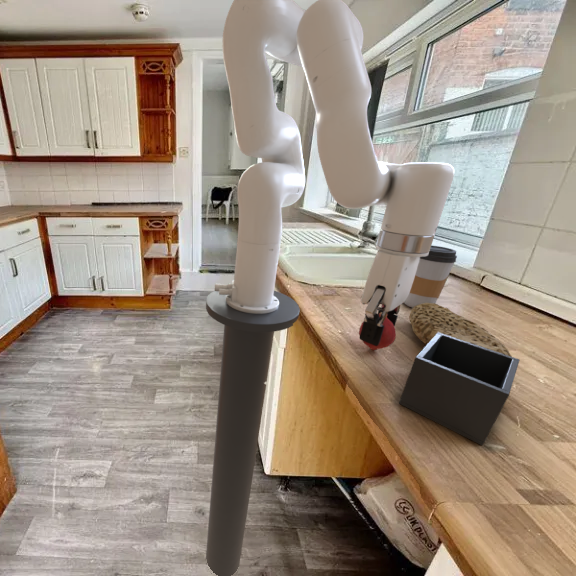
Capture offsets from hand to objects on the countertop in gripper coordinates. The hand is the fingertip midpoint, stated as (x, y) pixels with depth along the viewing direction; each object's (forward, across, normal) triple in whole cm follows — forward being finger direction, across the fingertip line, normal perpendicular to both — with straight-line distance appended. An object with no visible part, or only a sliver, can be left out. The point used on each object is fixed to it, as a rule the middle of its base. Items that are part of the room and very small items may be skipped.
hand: (376, 335), depth 57 cm
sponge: (+3, -12, +9) cm, 15 cm away
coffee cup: (+3, -32, -1) cm, 32 cm away
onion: (+3, 0, 0) cm, 3 cm away
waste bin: (+3, +7, +13) cm, 15 cm away
